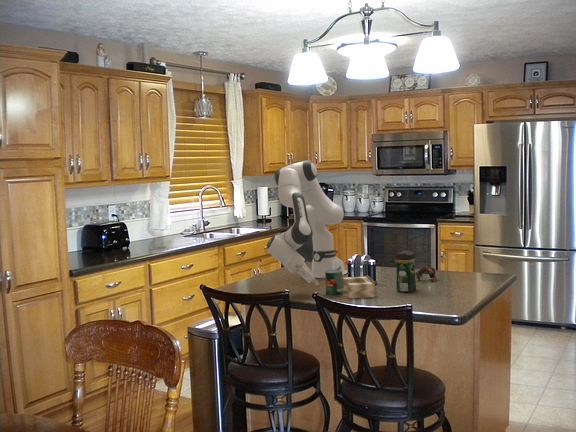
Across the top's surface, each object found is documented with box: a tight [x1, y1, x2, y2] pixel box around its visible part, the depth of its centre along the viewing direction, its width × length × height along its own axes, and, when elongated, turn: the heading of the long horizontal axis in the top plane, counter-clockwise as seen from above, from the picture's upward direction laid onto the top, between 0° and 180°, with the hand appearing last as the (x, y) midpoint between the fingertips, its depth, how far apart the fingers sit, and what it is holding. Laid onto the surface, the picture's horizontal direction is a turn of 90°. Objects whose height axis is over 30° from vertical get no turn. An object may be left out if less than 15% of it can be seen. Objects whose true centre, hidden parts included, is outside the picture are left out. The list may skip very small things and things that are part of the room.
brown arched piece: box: [415, 265, 438, 283], centre depth 308 cm, size 12×10×8 cm
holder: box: [342, 274, 376, 299], centre depth 283 cm, size 12×19×7 cm, turn 3°
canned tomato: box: [324, 270, 344, 298], centre depth 283 cm, size 8×8×11 cm
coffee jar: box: [394, 250, 417, 293], centre depth 285 cm, size 10×8×19 cm
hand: (318, 284), depth 282 cm, fingers closed
